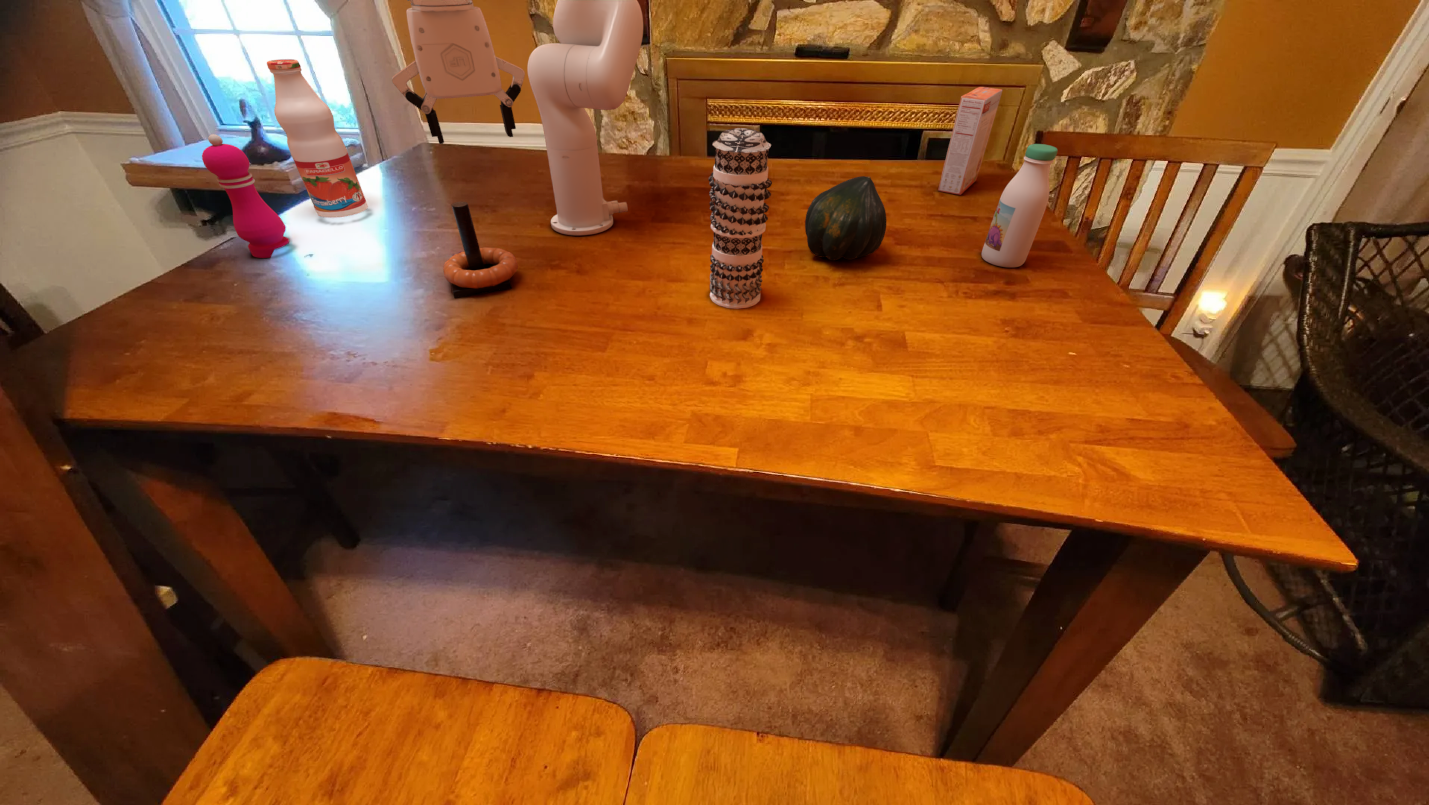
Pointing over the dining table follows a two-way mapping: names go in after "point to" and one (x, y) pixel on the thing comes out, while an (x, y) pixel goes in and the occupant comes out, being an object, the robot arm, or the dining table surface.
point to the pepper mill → (244, 199)
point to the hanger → (471, 252)
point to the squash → (846, 220)
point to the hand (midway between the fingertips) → (476, 138)
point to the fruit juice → (315, 143)
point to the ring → (484, 277)
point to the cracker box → (969, 139)
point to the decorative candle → (738, 217)
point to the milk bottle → (1020, 209)
